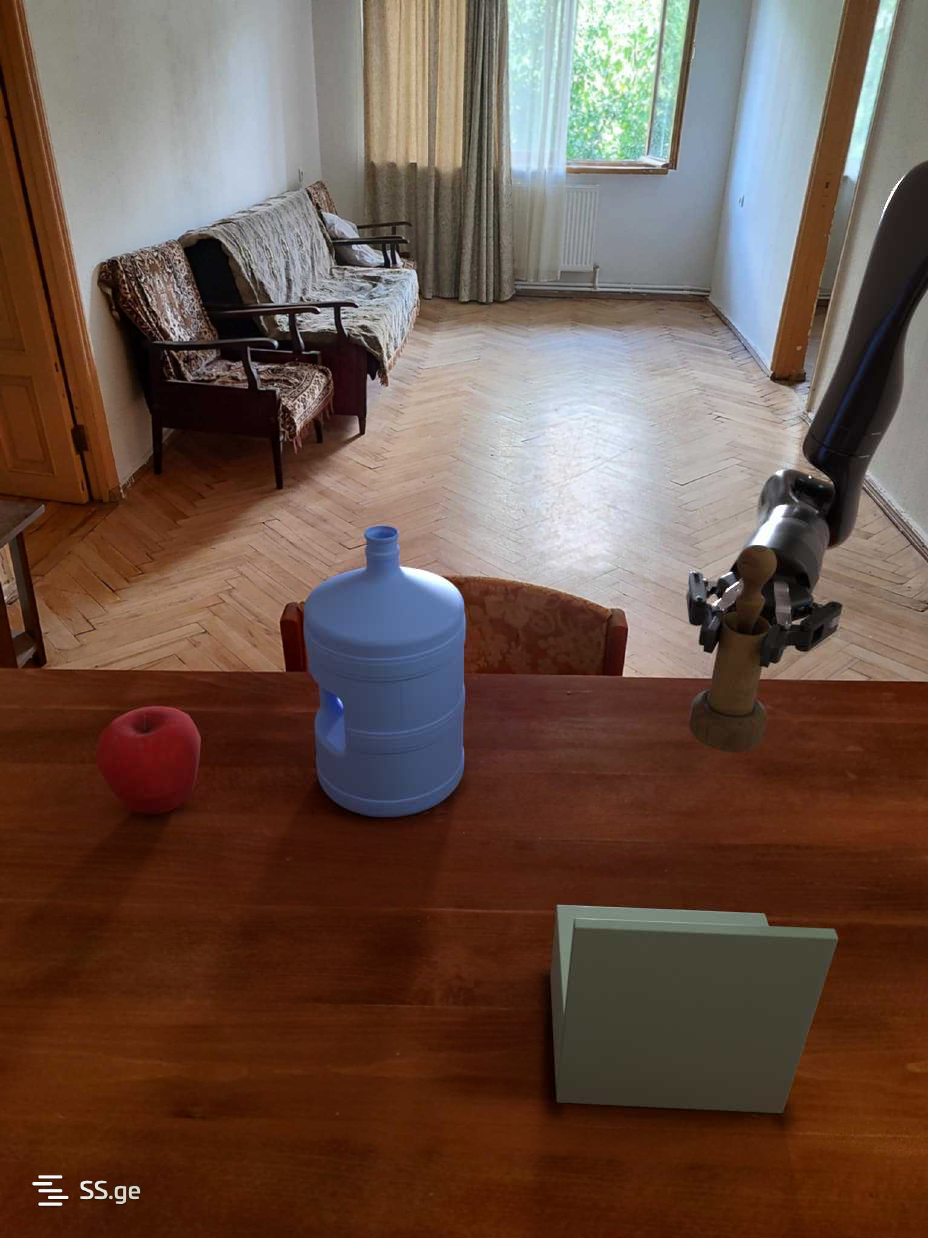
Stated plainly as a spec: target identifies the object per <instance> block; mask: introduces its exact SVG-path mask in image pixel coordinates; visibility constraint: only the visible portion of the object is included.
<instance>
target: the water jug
mask: <svg viewBox="0 0 928 1238" xmlns="http://www.w3.org/2000/svg"><path fill="white" fill-rule="evenodd" d="M363 537H364V539H365V541H366V545H365V548H364V555H365V558H366V560H365V561H366V567H361V568H357V569H356V568H355V569H352V570H348V571H345V572H341V573H338V574H337V575H334V576H332V577H330V578H328V579H326V580H324V581H322V582H321V583H320V584H318V585H317V586H316V587H315V588H314V589H313V590H312V591H311V592H310V593H309V595H308V596H307V598H306V600H305V603H304V606H303V618H304V619H303V637H304V644H305V649H306V652H307V663H308V670H309V673H310V675H311V677H312V678H313V680H314V681H315V683H316V684H318V694H319V704H320V705H319V707H318V709H317V711H316V714H315V718H314V725H313V726H314V727H313V728H314V739H315V748H316V754H315V755H316V757H315V766H316V774H317V779H318V782H319V785H320V786H321V788H322V790H323V791H324V793H325V794H326V796H328V798H330V800H332V801H333V802H334V803H335V804H337V805H338V806H340V807H342V808H343V809H346V810H347V811H350V812H351V813H355V814H359V815H362V816H366V817H374V818H399V817H406V816H407V817H408V816H411V815H416V814H419V813H421V812H422V813H423V812H424V811H427V810H429V809H431V808H433V807H435V806H436V805H438V804H441V803H442V802H443V801H445V800H446V799H447V798H448V797H450V795H451V794H452V793H453V792H454V791H455V790H456V788H457V787H458V785H459V783H460V782H461V780H462V778H463V775H464V769H465V749H464V713H465V706H466V689H465V683H464V679H465V678H464V677H465V673H464V672H465V642H466V631H467V630H466V627H467V623H466V620H467V619H466V613H465V601H464V598H463V595H462V593H461V592H460V591H459V589H458V588H457V586H455V584H453V583H452V582H450V581H449V580H448V579H446V578H444V577H442V576H441V575H439V574H436V573H434V572H431V571H427V570H425V569H424V570H423V569H419V568H415V567H408V566H401V565H400V546H399V544H398V538H399V537H400V532H399V529H397V528H396V527H394V526H390V525H374V526H371V527H368V528H366V529H365V530H364V532H363Z"/></svg>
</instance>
